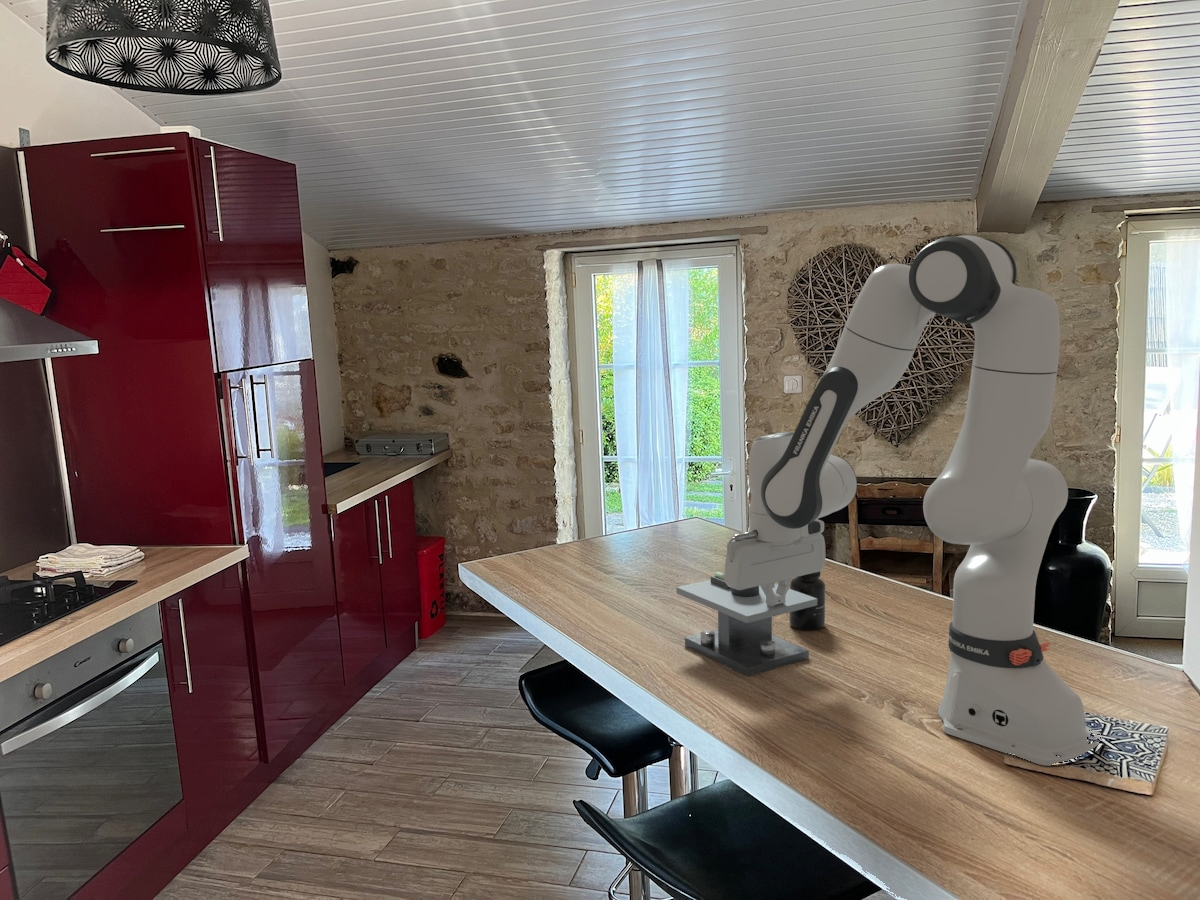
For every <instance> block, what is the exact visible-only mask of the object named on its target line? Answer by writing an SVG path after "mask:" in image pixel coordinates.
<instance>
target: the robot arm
mask: <svg viewBox="0 0 1200 900" xmlns="http://www.w3.org/2000/svg"><path fill="white" fill-rule="evenodd" d="M1017 276H1018V269H1017V265H1016V261H1015V259H1014V256H1013V255H1012V253H1011V252H1010V251H1009V250H1008V248H1006V247H1005V246H1004V245H1003V244H1001V243H1000V242H998V241H995V240H992V239H988V238H983V237H979V236H976V235H968V234H966V235H965V234H964V235H957V236H953V235H952V236H945V237H941V238H938V239H936V240H934V241H932V242H930V243H928V244H927V245H925V246H924V247H923V248H922V249H921V250H920V251H919V252H918V253H917V254H916V255H915V257H914V259H913V261H912V263H911V265H908V264H904V263H896V262H895V263H887V264H882V265H881V266H879V267H877V268H876V269H874V270H873V271H872V273H871V274H870V275H869V277H868V279H866V282H865V283H864V284H863V287H862V288H861V291H860V292H859V294H858V296H857V298H856V299H855V302H854V303H853V305H852V308H851V310H850V313H849V314H848V317H847V320H846V322H845V324H844V327H843V330H842V332H841V335H840V337H839V340H838V342H837V344H836V347H835V348H834V349H835V350H834V351H833V354H832V357H831V358H830V361H829V363H828V365H827V367H826V368H825V371H824V373H823V374H822V377H821V378H820V380H819V381H818V383H817V385H816V387H815V388H814V391H813V392H812V395H811V396H810V398H809V400H808V403H807V405H806V406H805V409H804V410H803V413H802V415H801V417H800V419H799V421H798V423H797V425H796V428H795V429H794V431H793V432H792V431H784V432H777V433H773V434H772V433H771V434H766V435H762V436H759V437H757V438H756V439H755V440H754V441H753V442H752V445H751V446H750V451H749V461H748V487H749V490H750V503H749V505H748V506H749V507H748V529H749V530H748V531H747V532H743V533H736V534H734V535H733V536H732V538H731V539H729V541H728V542H727V544H726V554H725V555H726V556H725V563H724V581H725V583H726V584H727V585H728V586H729V587H731V588H734V589H737V590H743V589H747V588H752V587H756V586H760V587H761V588H762V590H763V592H764V594H765V595H766V604H767V605H768V606H770V607H774V606H777V605H781V604H785V602H786V593H787V591H788V589H790V585H791V581H792V579H794V578H795V577H798V576H803V575H807V574H811V573H815V572H820V573H821V572H822V571H823V569H824V567H825V565H826V540H825V537H824V535H823V534H822V533H823V532H824V531H825V522H824V521H823V520H821V518H823V517H826V516H829V515H831V514H832V513H835V512H838V511H840V510H842V509H844V508H845V507H847V506H849V505H850V504H851V503H852V502H853V501H854V499H855V496H856V494H857V491H858V478H857V475H856V472H855V471H854V468H853V466H852V465H851V464H850V463H849V462H848V461H847V460H846V459H844V458H843V457H841V456H838V455H834V454H832V453H833V450H834V449H835V447H836V444H837V441H838V440H839V437H840V436H841V433H842V431H843V430H844V428H845V427H846V425H847V423H848V422H849V421H850V420H851V419H852V417H853V416H855V415H856V414H857V413H858V412H860V410H861V409H862V408H864V407H865V406H867V405H869V404H870V403H871V402H874V401H875V400H876V399H878V398H879V397H880V398H881V396H883V395H885V394H886V393H888V392H889V391H891V390H892V389H893V388H894V387H895V386H896V385H897V384H898V382H899V381H900V380H901V378H902V377H903V375H904V373H905V372H906V370H907V369H908V367H909V365H910V363H911V360H912V359H913V356H914V354H915V351H916V348H917V346H918V344H919V341H920V338H921V336H922V335H923V332H924V329H925V327H926V325H927V324H928V323H929V321H930V320H931V319H932V318H933V317H934V316H935V315H939V316H941V317H944V318H947V319H950V320H952V321H955V322H957V323H959V324H961V325H971V327H972V329H973V333H974V349H973V355H972V356H973V357H972V365H971V372H970V381H969V388H968V395H967V401H966V407H965V408H966V409H965V414H964V419H963V421H962V425H961V428H960V431H959V434H958V436H957V439H956V442H955V444H954V446H953V449H952V451H951V453H950V455H949V458H948V460H947V462H946V464H945V466H944V467H943V469H942V471H941V473H940V474H939V475H938V477H937V478H936V479H935V480H933V482H932V483H931V484H930V486H929V487H928V488H927V489H926V492H925V494H924V497H923V502H922V504H923V505H922V510H923V516H924V520H925V522H926V524H927V527H928V528H929V530H930V531H931V532H932V533H933V534H934V535H935V536H936V537H937V538H938V539H940V540H942V541H943V542H946V543H949V544H954V545H963V546H964V545H966V546H968V545H969V548H968V550H967V553H966V555H965V557H964V558H963V560H962V561H961V563H960V564H959V565H958V566H957V569H956V570H955V572H954V577H953V589H952V590H953V592H952V593H953V595H952V621H951V622H950V623H949V627H948V644H947V645H948V649H949V652H950V657H949V666H948V673H947V677H946V678H947V679H946V683H945V687H944V692H943V694H942V699H941V702H940V704H939V707H938V709H937V713H938V715H939V717H940V719H941V721H942V722H943V725H942V730H943V732H944V733H945V734H948V735H950V736H953V737H956V738H959V739H962V740H964V741H968V742H971V743H973V744H976V745H981V746H983V747H985V748H989V749H992V750H995V751H998V752H1001V753H1003V754H1007V753H1008V754H1007V755H1010V753H1011V754H1015V755H1016V756H1018V757H1020V758H1019V759H1021V758H1023V760H1024V759H1026V760H1025V761H1027V760H1028V762H1030V761H1031V763H1034V764H1037V765H1039V766H1044V767H1046V766H1047V767H1051V765H1052V764H1054V763H1055V764H1056V763H1057V762H1063V761H1068V760H1070V759H1074V758H1076V757H1079V756H1080V755H1082V754H1084V753H1085V752H1087V751H1089V750H1091V749H1093V748H1095V747H1096V746H1097V745H1099V742H1092V744H1091V741H1090V744H1088V742H1089V740H1088V741H1087V737H1090V734H1091V733H1094V734H1095V735H1094V738H1098V739H1099V740H1100V741H1101V740H1102V737H1103V736H1102V737H1101V739H1100V736H1101V734H1102V733H1101V732H1099V731H1097V730H1095V729H1093V730H1092V732H1091V729H1092V728H1091V727H1089V726H1087V724H1086V713H1085V708H1084V704H1083V701H1082V699H1081V697H1080V696H1079V695H1078V693H1076V692H1075V691H1074V690H1073V689H1072V688H1071V687H1070V686H1069V685H1068V684H1067V683H1066V682H1065V681H1064V680H1063V679H1062V678H1061V676H1060V675H1058V673H1057V672H1055V671H1054V669H1053V668H1051V666H1050V665H1049V664H1048V663H1047V662H1046V661H1045V659H1044V657H1045V656H1044V654H1043V652H1046V651H1049V650H1050V649H1051V648H1050V647H1049V646H1050V645H1051V642H1050V641H1047V642H1044V643H1041V644H1040V641H1039V639H1038V636H1037V633H1036V631H1035V629H1034V618H1035V617H1034V615H1035V601H1036V586H1037V579H1038V574H1039V571H1040V567H1041V564H1042V560H1043V558H1044V557H1043V556H1044V553H1045V550H1046V547H1047V544H1048V540H1049V537H1050V535H1051V533H1052V530H1053V527H1054V525H1055V523H1056V521H1057V519H1058V518H1059V516H1060V515H1061V513H1062V512H1063V511H1064V509H1065V508H1066V506H1067V503H1068V498H1069V487H1068V485H1067V481H1066V479H1065V477H1064V475H1063V474H1062V473H1061V471H1060V470H1059V469H1058V468H1057V467H1055V465H1053V464H1051V463H1049V462H1047V461H1045V460H1039V459H1035V458H1031V455H1032V454H1033V451H1034V450H1035V448H1036V445H1037V444H1038V443H1039V441H1041V439H1042V437H1043V436H1044V435H1045V434H1046V432H1047V431H1048V429H1049V428H1050V427H1049V426H1050V424H1051V421H1052V420H1051V418H1052V412H1053V405H1054V397H1055V392H1056V391H1055V390H1056V384H1057V383H1056V382H1057V377H1058V376H1057V375H1058V371H1059V370H1058V368H1059V361H1060V348H1061V347H1060V346H1061V345H1060V344H1061V330H1060V329H1061V328H1060V315H1059V314H1060V312H1059V311H1060V310H1059V306H1058V303H1057V302H1056V300H1055V299H1054V298H1053V297H1052V296H1051V295H1050V294H1047V293H1046V292H1044V291H1042V290H1039V289H1036V288H1032V287H1025V286H1024V287H1022V286H1019V285H1016V282H1017V278H1018V277H1017ZM776 583H777V585H778V587H777V590H776V593H774V592H773V590H772V588H774V587H775V584H776ZM1089 730H1090V731H1089ZM1094 730H1095V731H1094ZM1088 731H1089V732H1088ZM1093 731H1094V732H1093ZM1096 731H1097V732H1096ZM1096 734H1100V736H1098V735H1096ZM1092 735H1093V734H1092ZM1091 737H1092V736H1091ZM1056 755H1058V756H1061V757H1056ZM1016 756H1015V757H1016ZM1018 757H1017V758H1018Z"/></svg>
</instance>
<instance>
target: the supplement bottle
mask: <svg viewBox="0 0 1200 900" xmlns="http://www.w3.org/2000/svg"><path fill="white" fill-rule="evenodd" d="M820 577H821V571H820V572H815V573H811V574H807V575H803V576H798V577H794V578H791V585H790V587H789V589H791V590H794V591H797V592H800V593H803V594H806V595H808V596H811V597H814V598H817V605H816V606H812V607H809V608H805V609H801V610H797V611H793V612H789V613H788V614H789V616H788V618H789V624H790V627H792V628H794V629H796V630H800V631H818V630H820V629H823V627H825V625H826V624H825V623H826V622H825V621H826V620H825V619H826V584H825V582H824V580H823V579H822V578H820Z"/></svg>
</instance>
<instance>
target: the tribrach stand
mask: <svg viewBox="0 0 1200 900" xmlns="http://www.w3.org/2000/svg"><path fill="white" fill-rule="evenodd" d="M772 625H773V617H769V618H765V619H761V620H758V621H754V622H750V623H745V622H743V621H741V620H738V619H736V618H733V617H731V616H729V615H726V614H724V613H722V612H719V611H717V626H718V627H717V629H712V630H703V631H701V632H700V633H696V634H694V635H690V636H685V637H684V646H685V647H686V648H688V649H691V650H693V651H695V652H697V653H699V654H701V655H704V656H706V657H707V658H709V659H712V660H713V661H715V662H716V663H719V664H721V665H724V666H725V667H728V668H729V669H731V670H734V671H735V672H738V673H739V674H742V675H744V676H746V677H752V676H754V675H759V674H761V673H762V674H763V673H765V672H768V671H772V670H775V669H778V668H783V667H787V666H789V665H792V664H796V663H800V662H802V661H806V660H809V659H810V649H807V648H804V647H802V646H800V645H798V644H795V643H792V642H790V641H788V640H785V639H783V638H780V637H778V636H776V635H773V629H772V628H773V626H772Z"/></svg>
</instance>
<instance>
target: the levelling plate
mask: <svg viewBox="0 0 1200 900" xmlns="http://www.w3.org/2000/svg"><path fill="white" fill-rule="evenodd" d="M777 587H778V583H775V587H774V588H772V590H773V592H774V593H776V590H777ZM675 590H676V594H677V595H679V596H682V597H685V598H686V599H688V600H691V601H694V602H696V603H698V604H699V605H700V604H701V605H703V606H705V607H708V608H710V609H713V610H715V611H717V612H718V611H719V612H722V613H724V614H726V615H729V616H731V617H733V618H736V619H738V620H741V621H743V622H745V623H750V622H754V621H758V620H761V619H765V618H769V617H772V618H773V617H776V616H777V617H778V616H781V615H784V614H789V612H793V611H797V610H801V609H805V608H809V607H812V606H816V605H817V598H814V597H811V596H808V595H806V594H803V593H800V592H797V591H794V590H791V589H790V588H789V589H788V591H787V593H786V602H785V604H781V605H777V606H774V607H770V606H768V605H767V604H766V595H765V594H764V592H763V590H762V588H761V587H760V586H756V587H752V588H747V589H743V590H737V589H734V588H731V587H729V586H728V585H727V584H726V583H725V581H724V573H722V572H720V571H716V572H715V573H714V575H710V579H707V580H703V581H699V582H695V583H690V584H686V585H685V584H684V585H681V586H680V585H679V586H677V587H676V589H675Z"/></svg>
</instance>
